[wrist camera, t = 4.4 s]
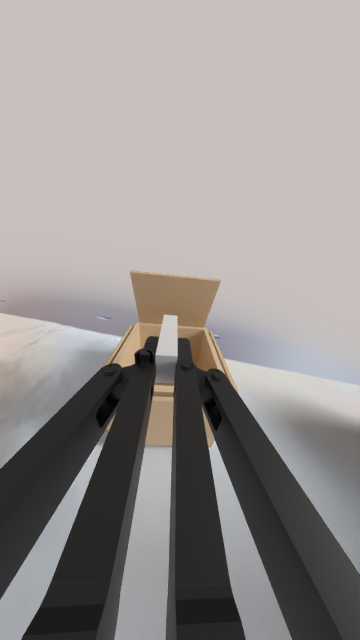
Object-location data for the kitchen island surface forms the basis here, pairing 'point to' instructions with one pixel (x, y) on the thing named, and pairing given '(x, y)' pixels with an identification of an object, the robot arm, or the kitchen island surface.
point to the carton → (162, 402)
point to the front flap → (173, 297)
